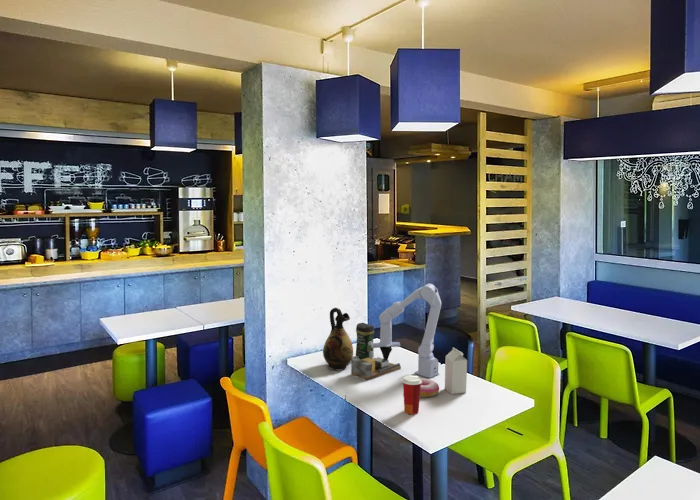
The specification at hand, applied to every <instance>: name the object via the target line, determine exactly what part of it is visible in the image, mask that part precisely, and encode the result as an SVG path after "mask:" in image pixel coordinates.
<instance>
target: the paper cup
mask: <svg viewBox="0 0 700 500" xmlns="http://www.w3.org/2000/svg"><path fill="white" fill-rule="evenodd" d="M421 379H422V378H421V377H420V376H417V375H411V374H410V375H405V376H404V377H403V378H402V380H401V382H402V384H403V406H404V407H403V408H404V410H403V411H404V413H405V414H407V415H409V416H410V415H413V416H414V415H418V414H419V408H420V400H421V397H420V387H421V383H422V381H421Z"/></svg>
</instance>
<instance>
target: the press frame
mask: <svg viewBox="0 0 700 500" xmlns="http://www.w3.org/2000/svg"><path fill="white" fill-rule="evenodd" d="M350 363H351V364H350V367H351V368H350V369H351V370H350V374H351V376H354V377H356V378H359V379H361V380H365V381H371V380H374V379H376V378H380V377H382V376H385V375H388V374H391V373H393V372H397V371H399V370H401V369H402V366H401V363H400V362H399V363H392V362H389V367H386V368H383V369H380V370H379V369H376V368H375V372H372V364H371V363H368V362H365V361H362V359H360V358H352V360H351V361H350Z"/></svg>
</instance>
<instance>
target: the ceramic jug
mask: <svg viewBox="0 0 700 500" xmlns="http://www.w3.org/2000/svg"><path fill="white" fill-rule="evenodd" d="M335 313H336V315H337V316H336V317H335V316H334V315H335ZM350 319H351V318H350V315H349V314H348V313H347V312H344V313H343V311H341V309H340V308H338V307H333V308H331V310H330V311H329V320H330V321H329V322H330V326H331V329H330V333H329V335H328V336H327V338H326V340H325V343H324V346H323V348H322V349H323V350H322V355H323V358H324V361H325V362H326V363H327V366H328V368H329V369H330V370H333V371H343V370H346V369H347V366H348V365H349V364H350V363H351V360H352V359H353V356H354V346H353V343H352V342H353V341H352V340H351V338H350V336H349V334H348V332H347V331H346V329H345V328H344V325H343V324H344V322H347V321H349V320H350Z"/></svg>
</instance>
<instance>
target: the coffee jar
mask: <svg viewBox="0 0 700 500" xmlns="http://www.w3.org/2000/svg"><path fill="white" fill-rule="evenodd" d="M374 327H375V326H374V325H372V324H368V323H365V322H360V323H357V324H356V327H355V333H356V347H355V357H356V358H357V359H360V360H362V359H365V358H372V359H374V356H375V354H374V352H375V351H374V349H375V348H372V347H371V344H372V343H374V335H375V328H374Z"/></svg>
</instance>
